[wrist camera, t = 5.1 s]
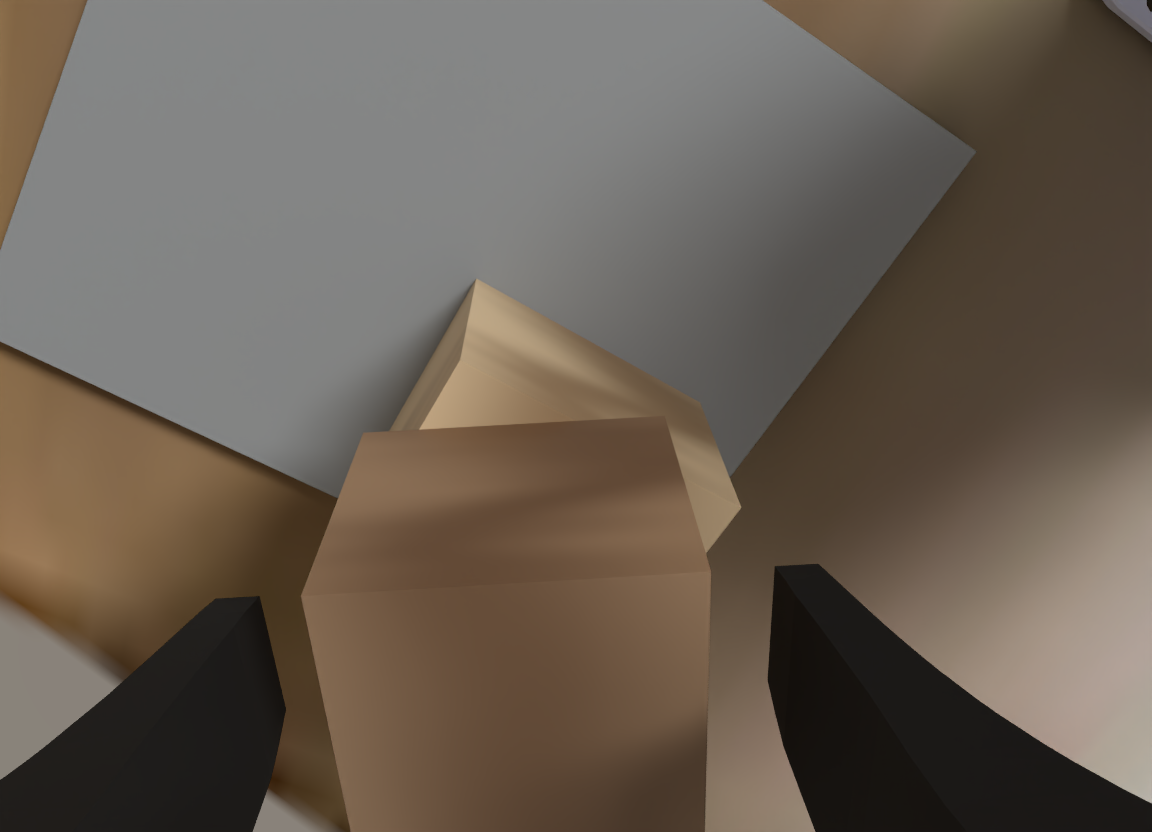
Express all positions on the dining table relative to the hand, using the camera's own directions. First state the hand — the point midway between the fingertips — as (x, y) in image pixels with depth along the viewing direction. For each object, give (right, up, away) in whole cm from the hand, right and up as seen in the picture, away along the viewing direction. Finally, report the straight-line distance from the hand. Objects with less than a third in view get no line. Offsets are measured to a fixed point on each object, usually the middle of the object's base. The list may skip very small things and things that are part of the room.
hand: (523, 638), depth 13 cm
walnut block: (0, +1, +2) cm, 2 cm away
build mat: (-1, +7, +4) cm, 8 cm away
